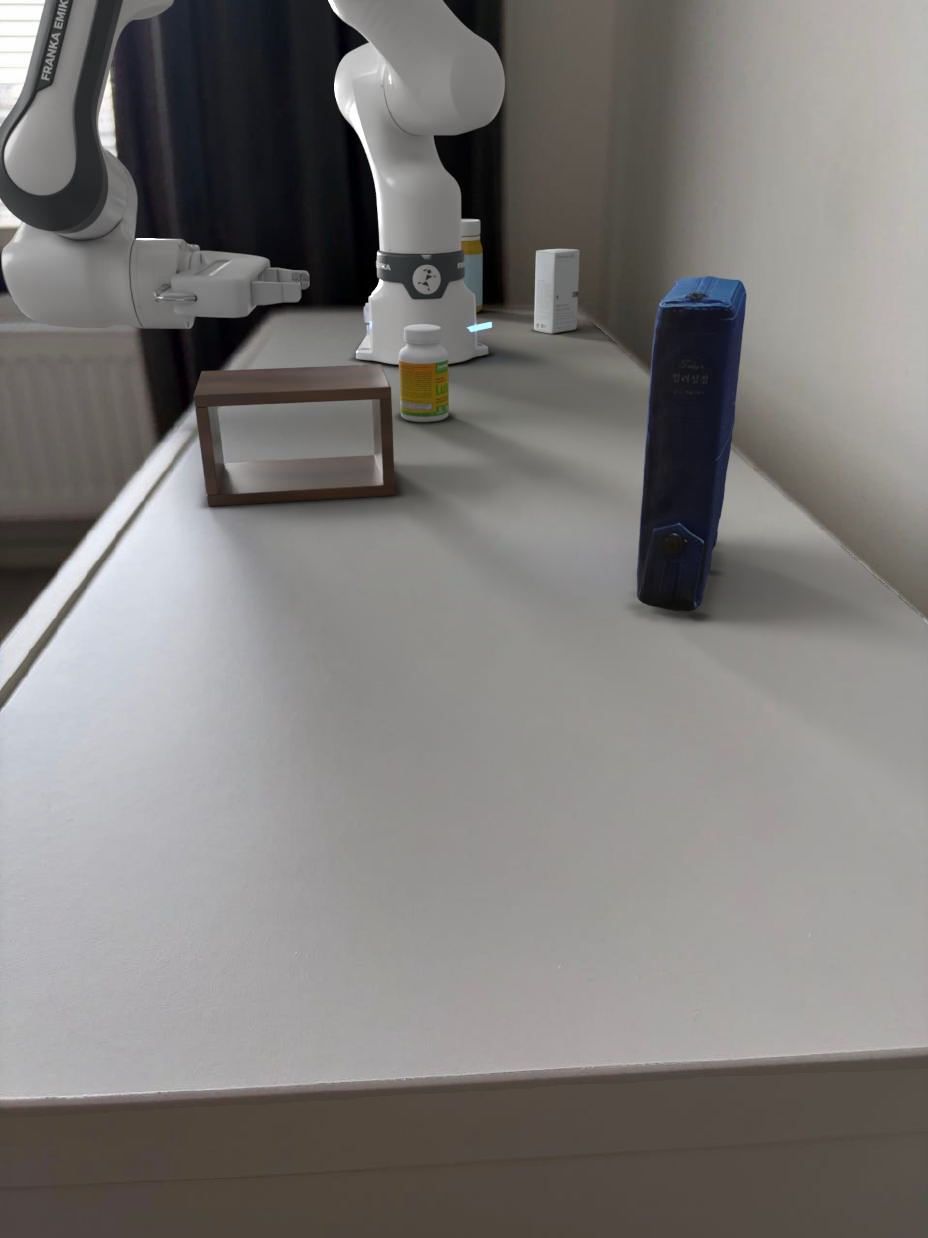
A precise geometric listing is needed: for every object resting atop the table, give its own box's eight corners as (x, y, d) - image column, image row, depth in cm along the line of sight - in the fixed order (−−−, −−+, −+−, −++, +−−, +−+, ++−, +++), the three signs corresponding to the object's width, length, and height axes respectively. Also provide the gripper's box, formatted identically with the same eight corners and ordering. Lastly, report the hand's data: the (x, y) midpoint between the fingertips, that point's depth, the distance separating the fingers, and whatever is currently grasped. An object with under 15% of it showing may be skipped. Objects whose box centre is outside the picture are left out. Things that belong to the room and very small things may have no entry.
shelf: (214, 473, 90) (201, 370, 85) (385, 464, 92) (381, 364, 88) (207, 506, 82) (193, 395, 77) (395, 495, 84) (391, 386, 80)
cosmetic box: (553, 334, 151) (556, 252, 146) (532, 330, 154) (534, 250, 149) (578, 329, 155) (582, 249, 149) (557, 325, 158) (560, 247, 152)
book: (705, 624, 62) (745, 300, 53) (623, 613, 63) (648, 296, 54) (720, 542, 74) (754, 269, 65) (650, 535, 76) (675, 266, 67)
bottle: (439, 313, 168) (438, 221, 162) (446, 307, 175) (445, 218, 168) (478, 314, 167) (479, 222, 161) (484, 308, 174) (485, 218, 167)
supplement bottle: (442, 424, 105) (441, 332, 100) (395, 421, 106) (391, 330, 101) (453, 411, 109) (452, 323, 105) (407, 409, 110) (404, 322, 106)
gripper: (142, 263, 89) (293, 264, 90) (186, 242, 107) (311, 244, 108) (151, 333, 92) (297, 334, 93) (193, 301, 110) (314, 302, 111)
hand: (305, 285), depth 101 cm, fingers open, 8 cm apart
